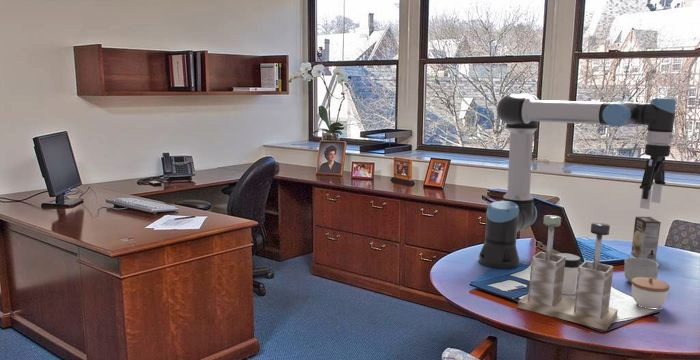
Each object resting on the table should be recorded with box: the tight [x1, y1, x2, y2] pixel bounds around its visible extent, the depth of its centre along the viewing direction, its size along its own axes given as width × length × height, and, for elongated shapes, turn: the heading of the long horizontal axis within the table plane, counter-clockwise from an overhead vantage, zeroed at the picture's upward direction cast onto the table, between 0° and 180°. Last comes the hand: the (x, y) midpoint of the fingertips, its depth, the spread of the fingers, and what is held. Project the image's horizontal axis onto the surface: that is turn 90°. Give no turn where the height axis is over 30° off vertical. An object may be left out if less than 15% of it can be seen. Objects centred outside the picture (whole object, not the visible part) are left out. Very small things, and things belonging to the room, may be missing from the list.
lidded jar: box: [631, 277, 670, 309], centre depth 185 cm, size 11×11×9 cm
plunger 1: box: [542, 214, 562, 261], centre depth 180 cm, size 6×6×17 cm
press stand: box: [517, 251, 619, 331], centre depth 178 cm, size 26×14×16 cm, turn 54°
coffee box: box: [631, 216, 662, 261], centre depth 236 cm, size 9×6×16 cm
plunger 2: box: [590, 222, 611, 271], centre depth 172 cm, size 6×6×17 cm
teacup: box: [623, 255, 660, 284], centre depth 208 cm, size 14×11×8 cm
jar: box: [555, 252, 581, 296], centre depth 196 cm, size 9×8×12 cm
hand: (650, 205), depth 200 cm, fingers open, 13 cm apart
